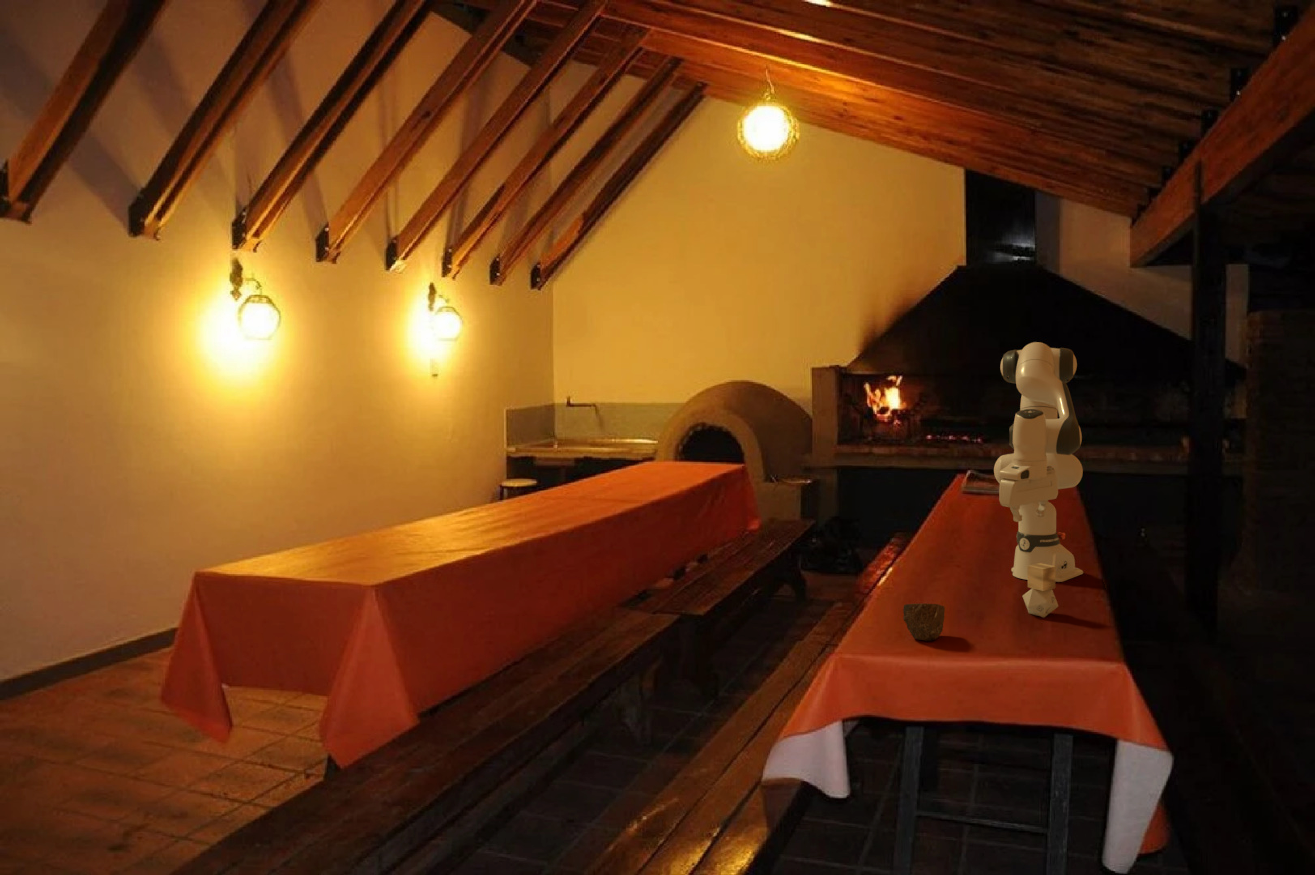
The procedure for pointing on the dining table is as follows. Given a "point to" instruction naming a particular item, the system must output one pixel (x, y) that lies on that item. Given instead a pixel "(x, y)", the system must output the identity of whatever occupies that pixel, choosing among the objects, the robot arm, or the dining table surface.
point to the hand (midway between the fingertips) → (1029, 518)
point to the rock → (924, 620)
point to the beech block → (1041, 576)
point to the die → (1040, 602)
